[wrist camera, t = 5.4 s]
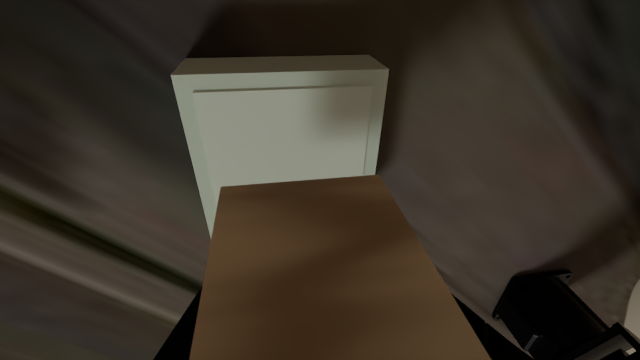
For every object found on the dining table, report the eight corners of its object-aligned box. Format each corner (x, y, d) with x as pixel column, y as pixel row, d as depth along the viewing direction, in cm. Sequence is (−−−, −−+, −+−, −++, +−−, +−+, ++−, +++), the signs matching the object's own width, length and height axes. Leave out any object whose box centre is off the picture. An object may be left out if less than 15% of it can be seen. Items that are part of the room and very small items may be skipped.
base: (368, 54, 16) (390, 69, 13) (355, 195, 21) (368, 226, 18) (185, 58, 15) (170, 75, 12) (217, 207, 20) (211, 242, 17)
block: (378, 174, 10) (494, 365, 5) (364, 276, 13) (430, 464, 8) (220, 186, 9) (177, 422, 4) (241, 291, 12) (229, 509, 7)
